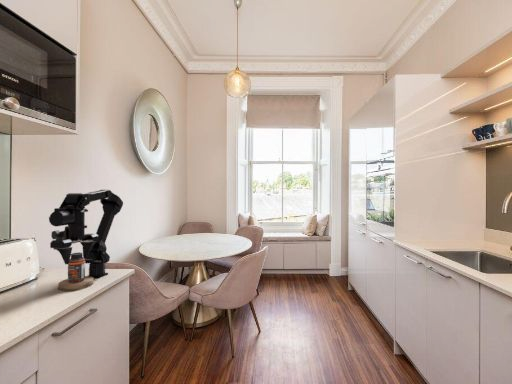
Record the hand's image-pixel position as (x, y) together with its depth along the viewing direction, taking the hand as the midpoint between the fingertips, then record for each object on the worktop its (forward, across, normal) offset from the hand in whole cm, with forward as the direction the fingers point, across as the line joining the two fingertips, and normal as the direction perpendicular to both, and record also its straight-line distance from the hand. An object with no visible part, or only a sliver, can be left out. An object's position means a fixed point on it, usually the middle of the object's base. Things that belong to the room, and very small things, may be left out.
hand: (76, 261), depth 109 cm
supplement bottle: (+8, 0, 0) cm, 8 cm away
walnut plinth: (+10, 0, 0) cm, 10 cm away
